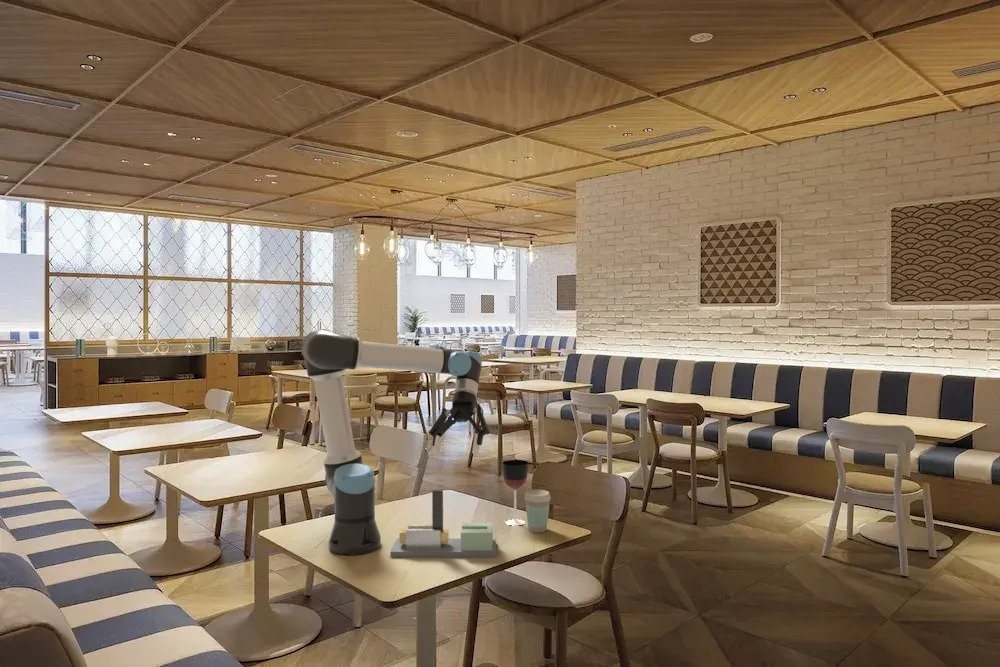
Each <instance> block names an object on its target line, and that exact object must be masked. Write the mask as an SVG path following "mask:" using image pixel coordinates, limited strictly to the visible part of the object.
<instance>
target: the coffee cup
mask: <svg viewBox="0 0 1000 667" xmlns="http://www.w3.org/2000/svg"><path fill="white" fill-rule="evenodd" d="M523 499H524V502H525V510H526V522H527V527H528V528H527V529H528V531H529V532H530V533H534V532H542V533H544V531H545V532H546V531H547V530H548V521H549V513H550V512H549V510H550V503H551V495H550V492H549V491H548V490H545V489H530V490H527V491H526V492H525V494H524V498H523Z"/></svg>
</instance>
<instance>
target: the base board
mask: <svg viewBox="0 0 1000 667" xmlns="http://www.w3.org/2000/svg"><path fill="white" fill-rule="evenodd" d="M389 557H390V558H497V538H493V546H492V551H461V538H449V540H448V544H442V545H441V548H406V544H400V537H399V538H396V539H395V541H394V543H393V545H392V547H391V550H390V556H389Z"/></svg>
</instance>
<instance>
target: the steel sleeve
mask: <svg viewBox="0 0 1000 667" xmlns="http://www.w3.org/2000/svg"><path fill="white" fill-rule="evenodd" d="M405 529H406V548H441V545H442V544H441V529H432V524H408V525H407V528H405Z"/></svg>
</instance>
